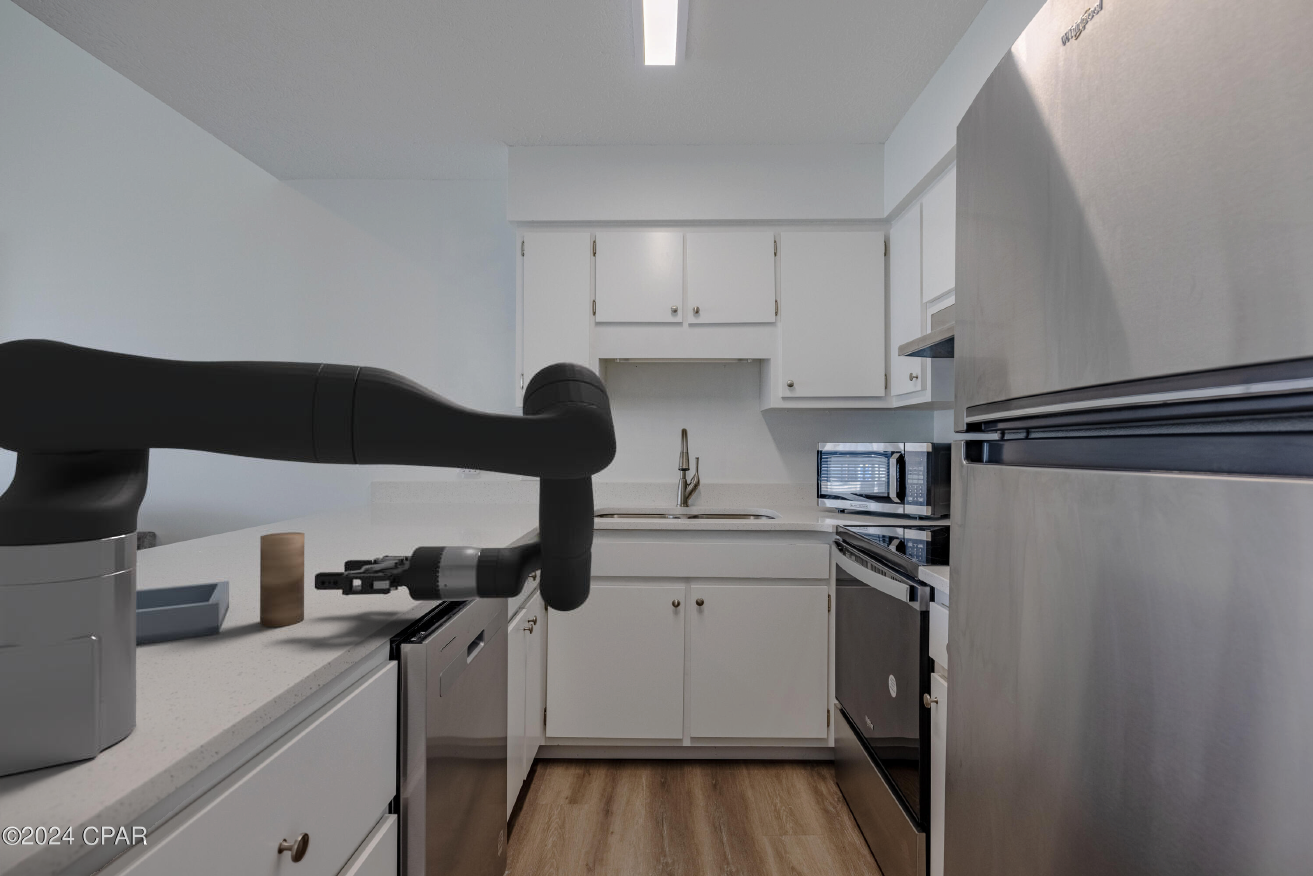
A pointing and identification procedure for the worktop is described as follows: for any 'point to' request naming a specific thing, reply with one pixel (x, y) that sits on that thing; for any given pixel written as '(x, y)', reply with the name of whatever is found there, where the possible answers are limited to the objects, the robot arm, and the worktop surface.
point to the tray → (180, 611)
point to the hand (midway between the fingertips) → (331, 574)
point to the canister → (281, 579)
